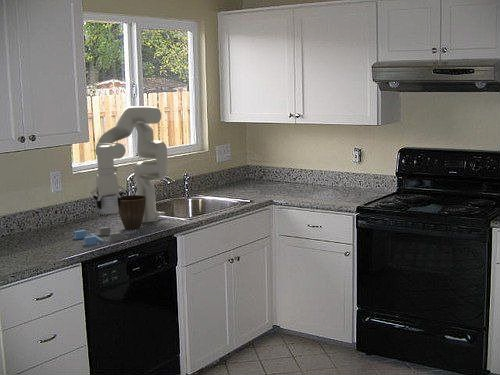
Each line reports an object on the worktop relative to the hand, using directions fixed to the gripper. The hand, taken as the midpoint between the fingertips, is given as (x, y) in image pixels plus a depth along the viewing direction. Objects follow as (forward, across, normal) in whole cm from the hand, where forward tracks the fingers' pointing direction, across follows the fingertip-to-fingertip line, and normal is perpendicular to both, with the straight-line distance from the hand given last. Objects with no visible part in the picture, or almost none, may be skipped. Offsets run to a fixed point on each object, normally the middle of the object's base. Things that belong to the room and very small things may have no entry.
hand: (109, 207), depth 336 cm
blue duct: (+14, +11, +1) cm, 18 cm away
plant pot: (+15, -15, -11) cm, 24 cm away
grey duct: (+15, -1, +1) cm, 15 cm away
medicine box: (+3, 0, 0) cm, 3 cm away
